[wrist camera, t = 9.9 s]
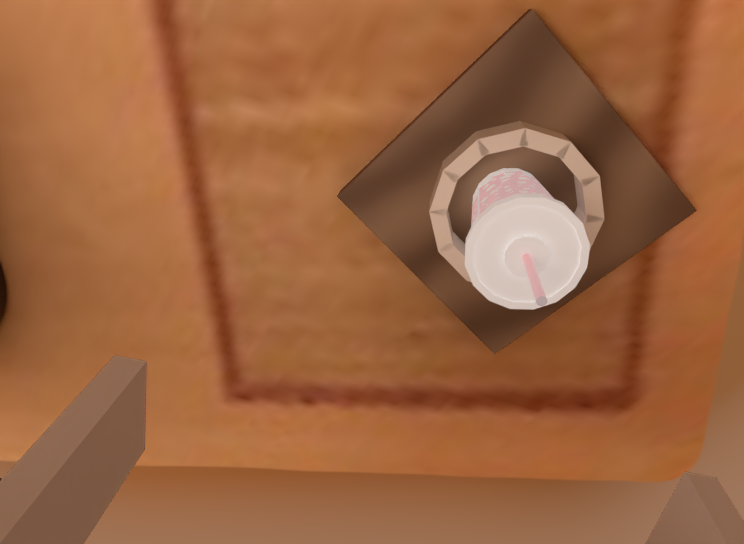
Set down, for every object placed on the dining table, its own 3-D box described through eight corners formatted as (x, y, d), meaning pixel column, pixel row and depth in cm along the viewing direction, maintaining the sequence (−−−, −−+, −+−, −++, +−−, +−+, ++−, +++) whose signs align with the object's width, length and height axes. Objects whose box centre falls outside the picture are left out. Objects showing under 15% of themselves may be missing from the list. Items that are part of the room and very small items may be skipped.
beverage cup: (516, 264, 38) (552, 386, 25) (441, 215, 37) (439, 316, 25) (578, 190, 36) (651, 285, 23) (498, 136, 35) (529, 203, 22)
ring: (400, 198, 37) (398, 210, 35) (523, 88, 34) (529, 93, 31) (500, 301, 39) (503, 318, 37) (625, 207, 36) (637, 220, 34)
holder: (340, 190, 39) (337, 196, 38) (528, 9, 33) (532, 9, 32) (493, 343, 43) (494, 354, 41) (687, 203, 37) (696, 210, 35)
